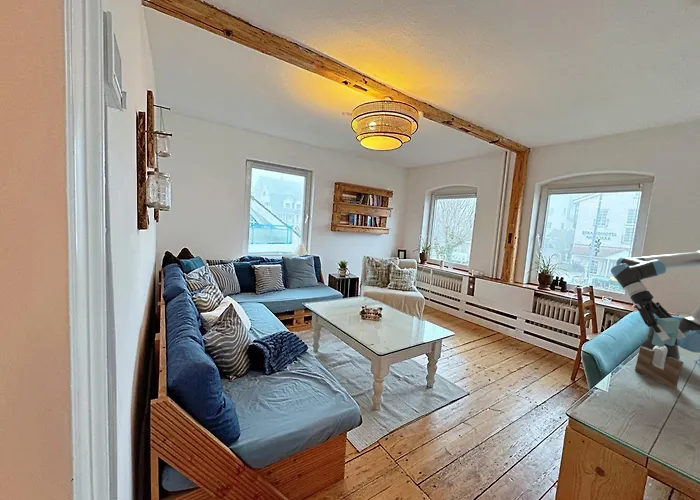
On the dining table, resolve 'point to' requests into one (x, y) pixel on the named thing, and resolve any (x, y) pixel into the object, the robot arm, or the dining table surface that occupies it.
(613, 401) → the dining table surface
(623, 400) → the dining table surface
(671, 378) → the walnut slotted board
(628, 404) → the dining table surface
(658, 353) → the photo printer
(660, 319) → the teal slotted plate
